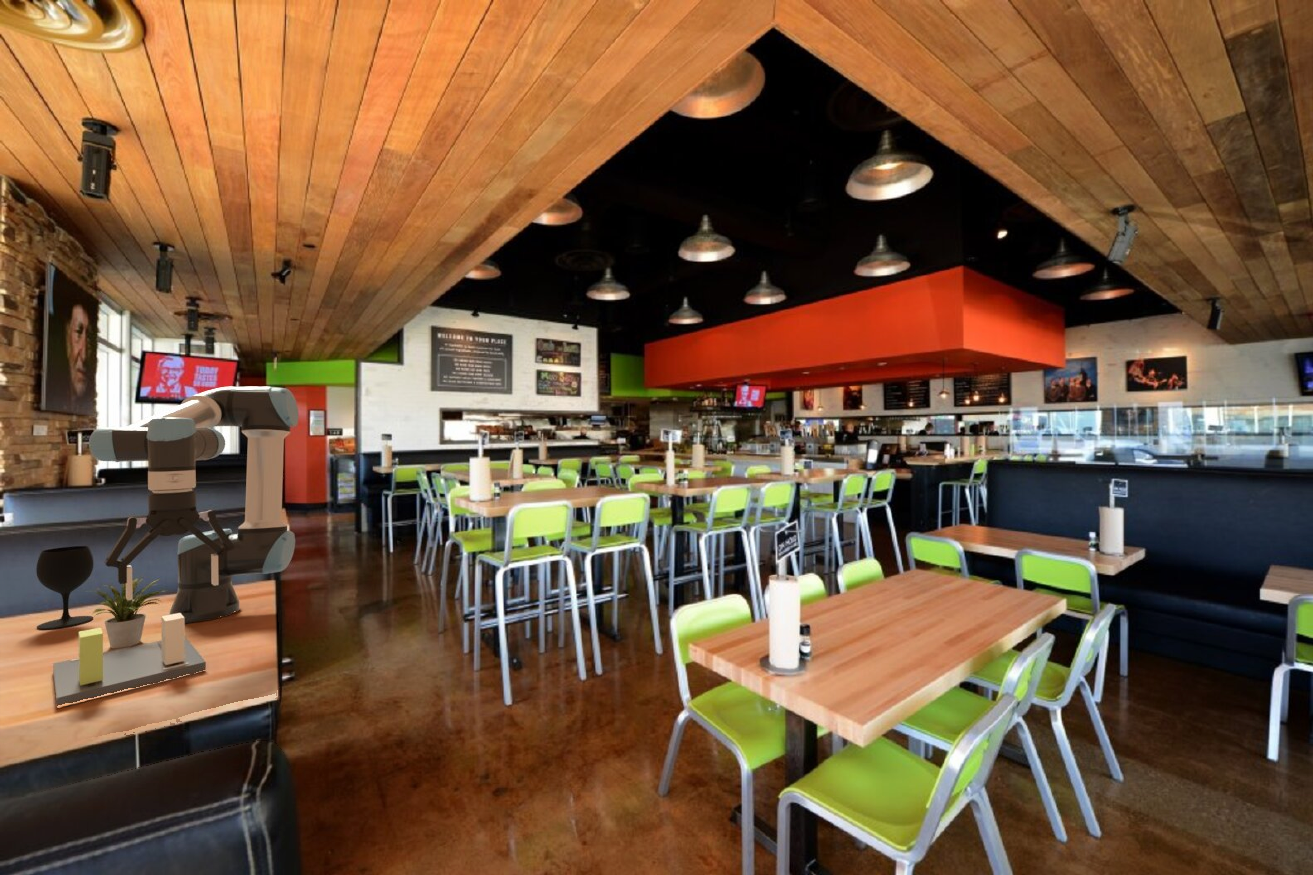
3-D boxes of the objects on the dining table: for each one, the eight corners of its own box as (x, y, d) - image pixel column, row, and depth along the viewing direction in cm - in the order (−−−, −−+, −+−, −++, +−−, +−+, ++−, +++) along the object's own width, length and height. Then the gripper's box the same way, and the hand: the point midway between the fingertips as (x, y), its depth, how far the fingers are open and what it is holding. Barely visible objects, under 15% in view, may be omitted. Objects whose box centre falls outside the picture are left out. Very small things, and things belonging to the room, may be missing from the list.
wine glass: (91, 614, 153) (91, 543, 153) (95, 622, 146) (95, 548, 146) (35, 624, 145) (35, 549, 145) (37, 632, 138) (37, 554, 138)
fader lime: (100, 672, 108) (100, 627, 108) (102, 680, 104) (102, 633, 104) (78, 678, 105) (78, 631, 105) (80, 685, 102) (80, 637, 102)
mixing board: (184, 643, 130) (184, 634, 130) (205, 671, 114) (205, 660, 114) (53, 672, 114) (53, 662, 114) (56, 708, 98) (56, 696, 98)
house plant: (108, 660, 120) (108, 586, 120) (61, 655, 123) (61, 583, 123) (176, 637, 134) (176, 571, 134) (133, 633, 137) (133, 569, 137)
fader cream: (180, 654, 117) (180, 612, 117) (184, 660, 113) (184, 617, 114) (161, 658, 114) (161, 616, 115) (165, 665, 111) (165, 621, 111)
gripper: (88, 497, 102) (89, 609, 102) (249, 487, 121) (250, 581, 121) (85, 494, 107) (87, 601, 107) (241, 485, 126) (242, 576, 126)
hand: (174, 591), depth 114 cm, fingers open, 13 cm apart
